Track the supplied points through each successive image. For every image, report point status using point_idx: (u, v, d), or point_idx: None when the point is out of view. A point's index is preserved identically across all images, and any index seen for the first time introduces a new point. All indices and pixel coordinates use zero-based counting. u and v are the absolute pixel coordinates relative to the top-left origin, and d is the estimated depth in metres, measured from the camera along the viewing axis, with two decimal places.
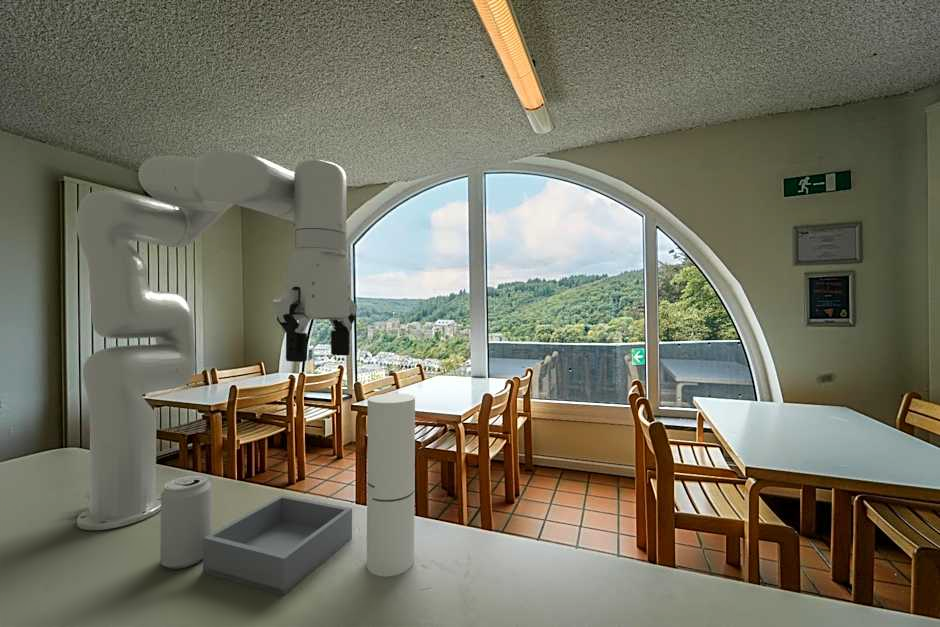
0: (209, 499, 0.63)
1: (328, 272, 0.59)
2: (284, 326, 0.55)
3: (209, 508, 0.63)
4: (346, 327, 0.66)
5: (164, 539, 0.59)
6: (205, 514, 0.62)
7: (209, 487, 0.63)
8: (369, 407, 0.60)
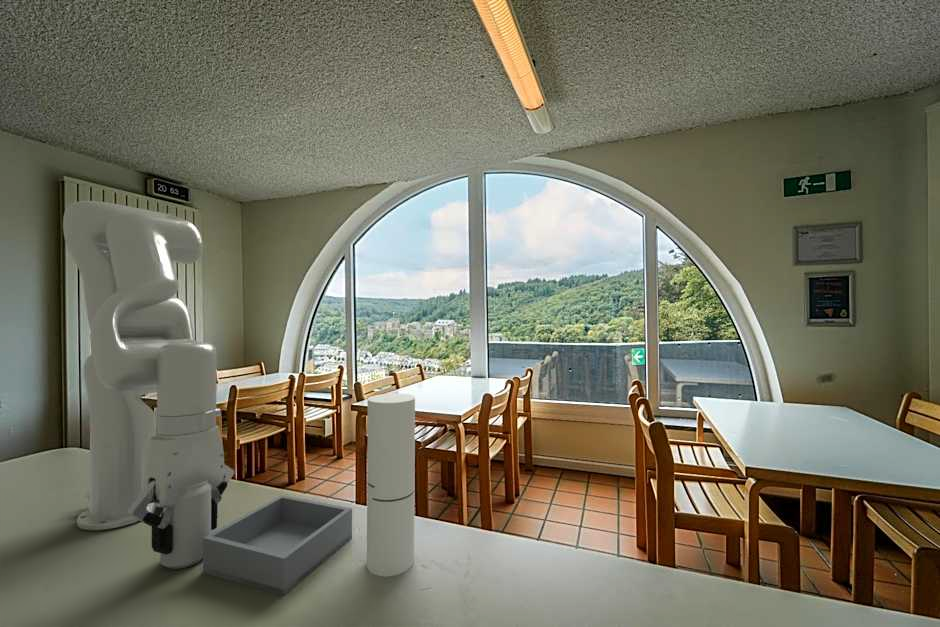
0: (209, 499, 0.63)
1: (190, 455, 0.60)
2: (146, 523, 0.57)
3: (209, 508, 0.63)
4: (213, 501, 0.65)
5: None
6: (205, 514, 0.62)
7: (209, 487, 0.63)
8: (369, 407, 0.60)
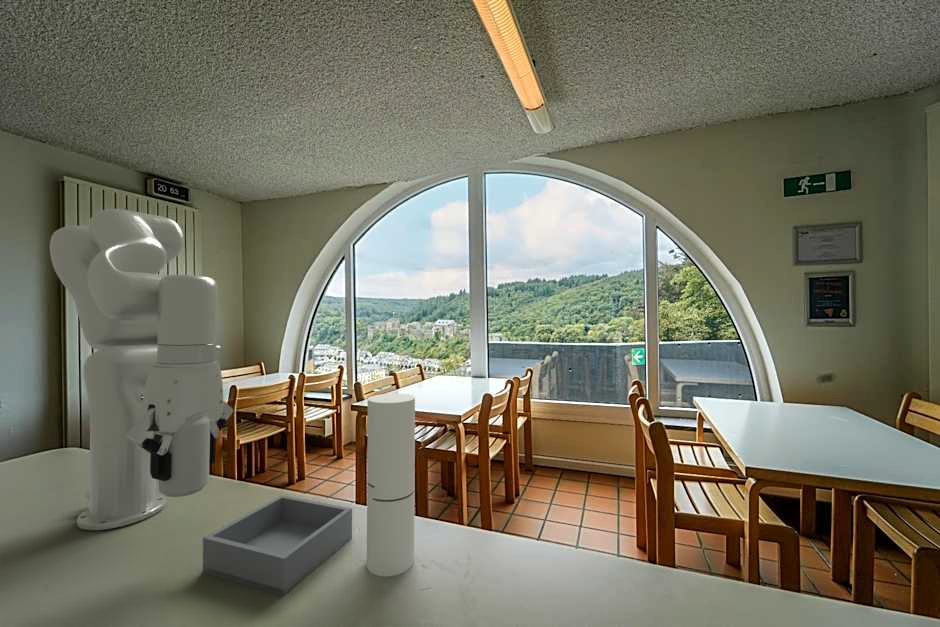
0: (208, 432, 0.63)
1: (189, 385, 0.60)
2: (145, 449, 0.58)
3: (207, 441, 0.63)
4: (212, 435, 0.65)
5: None
6: (203, 446, 0.62)
7: (208, 420, 0.63)
8: (369, 407, 0.60)
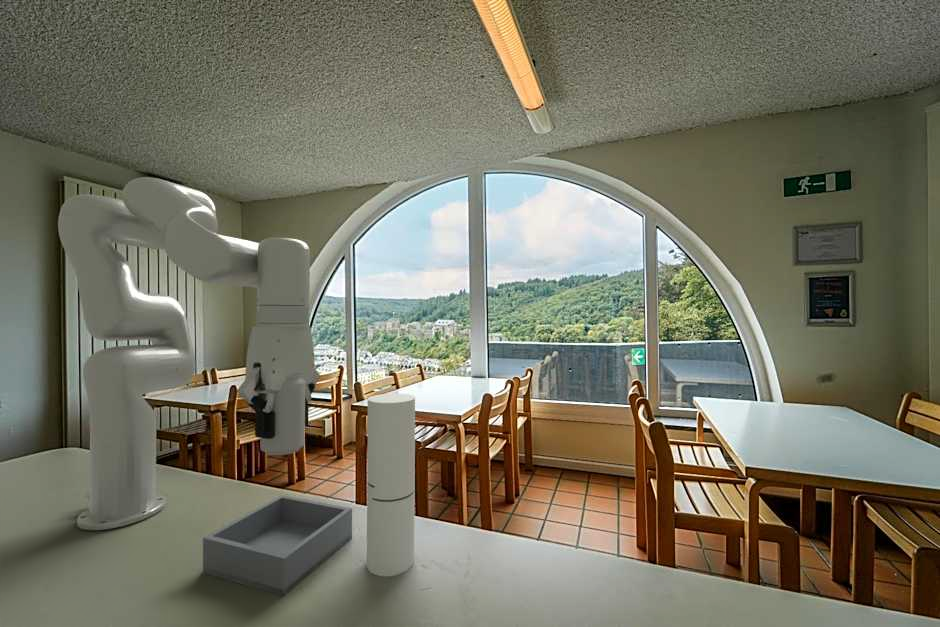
0: (304, 393, 0.64)
1: (289, 346, 0.62)
2: (252, 406, 0.59)
3: (304, 401, 0.64)
4: (305, 398, 0.67)
5: None
6: (302, 405, 0.63)
7: (304, 381, 0.64)
8: (369, 407, 0.60)
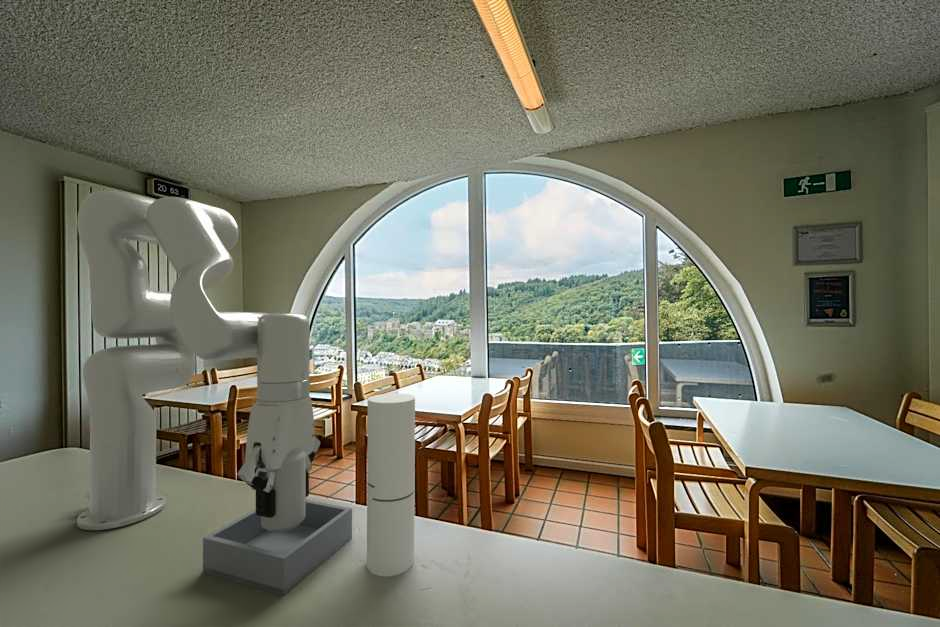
0: (305, 466, 0.64)
1: (290, 422, 0.62)
2: (253, 487, 0.59)
3: (305, 475, 0.64)
4: None
5: None
6: (302, 480, 0.63)
7: (304, 454, 0.64)
8: (369, 407, 0.60)
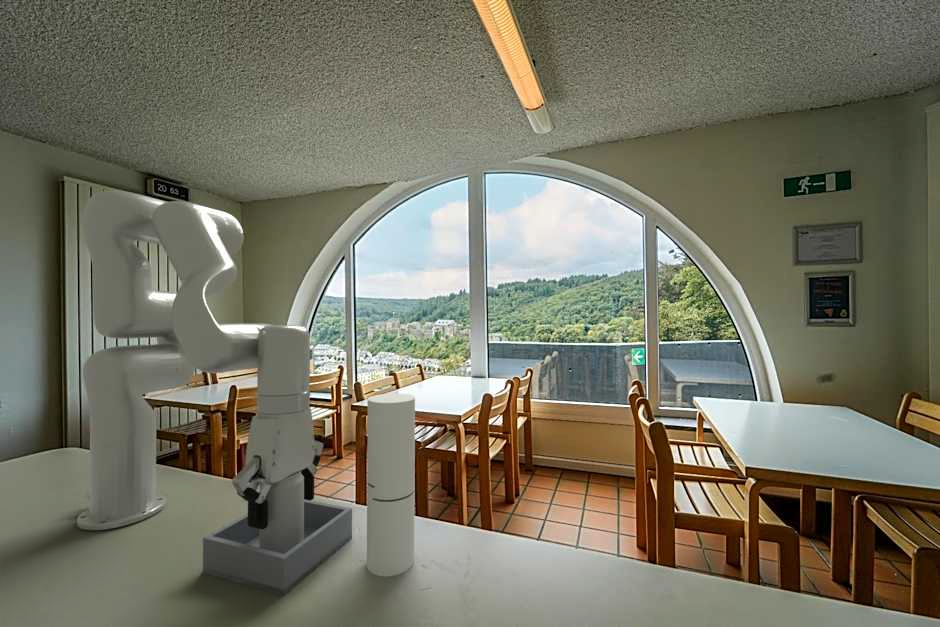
0: (303, 490, 0.64)
1: (289, 434, 0.62)
2: (245, 498, 0.57)
3: (303, 498, 0.64)
4: (311, 472, 0.68)
5: (265, 528, 0.61)
6: (301, 504, 0.63)
7: (303, 478, 0.64)
8: (369, 407, 0.60)
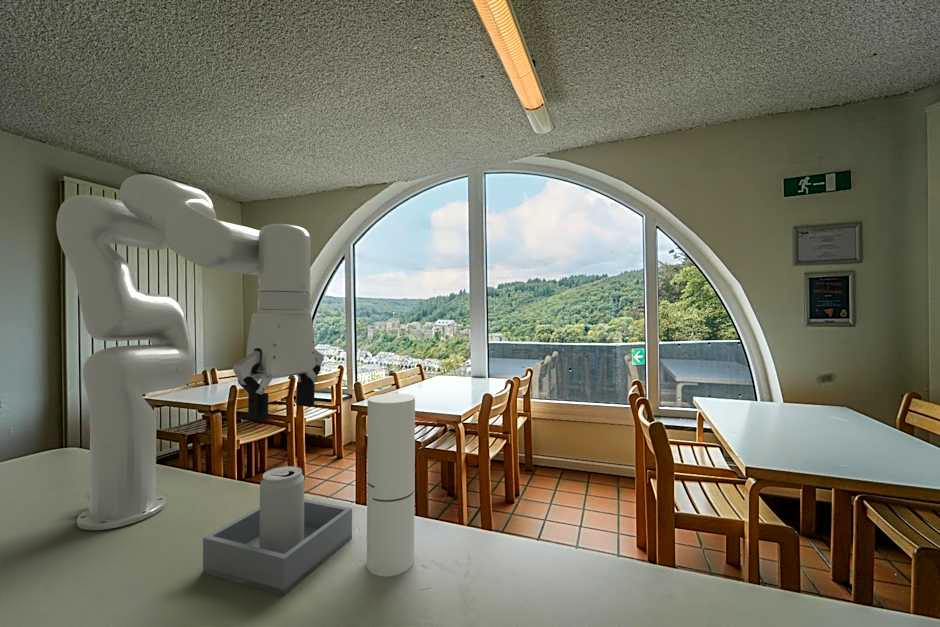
0: (303, 490, 0.64)
1: (290, 332, 0.62)
2: (245, 388, 0.58)
3: (303, 499, 0.64)
4: (311, 379, 0.68)
5: (265, 528, 0.61)
6: (301, 504, 0.63)
7: (303, 478, 0.64)
8: (369, 407, 0.60)
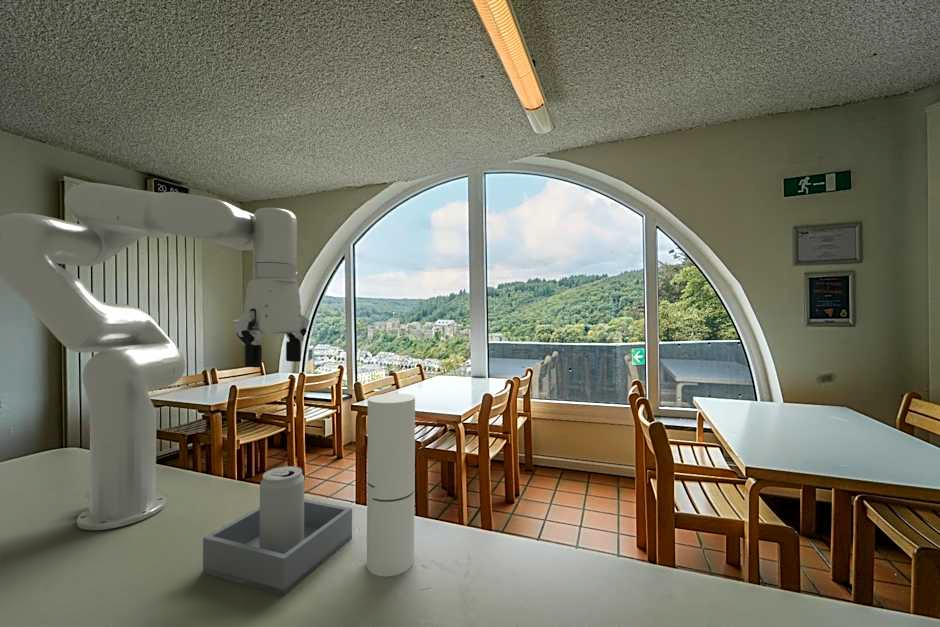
0: (303, 490, 0.64)
1: (279, 296, 0.75)
2: (242, 339, 0.71)
3: (303, 499, 0.64)
4: (298, 339, 0.81)
5: (265, 528, 0.61)
6: (301, 504, 0.63)
7: (303, 478, 0.64)
8: (369, 407, 0.60)
